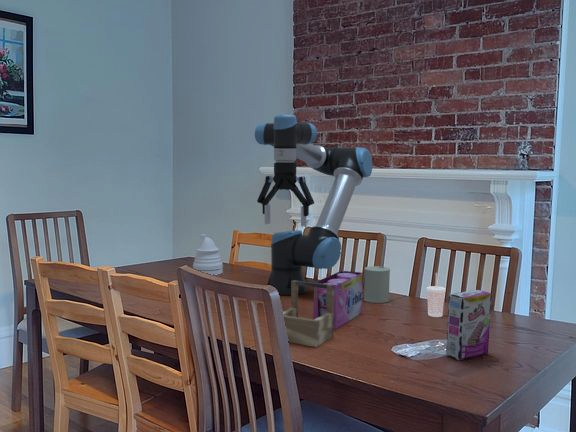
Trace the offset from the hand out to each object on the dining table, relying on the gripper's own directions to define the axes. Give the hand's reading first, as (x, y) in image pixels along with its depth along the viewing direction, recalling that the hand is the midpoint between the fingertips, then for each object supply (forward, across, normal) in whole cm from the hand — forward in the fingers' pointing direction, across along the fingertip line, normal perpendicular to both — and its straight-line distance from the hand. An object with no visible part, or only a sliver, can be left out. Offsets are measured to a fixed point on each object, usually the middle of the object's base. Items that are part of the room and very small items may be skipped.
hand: (285, 225), depth 199 cm
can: (+29, +25, +24) cm, 45 cm away
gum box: (+28, +22, -6) cm, 36 cm away
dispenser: (+28, +21, -28) cm, 45 cm away
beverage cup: (+29, +48, +13) cm, 58 cm away
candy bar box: (+28, +64, -23) cm, 74 cm away
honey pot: (+29, -54, +33) cm, 70 cm away
